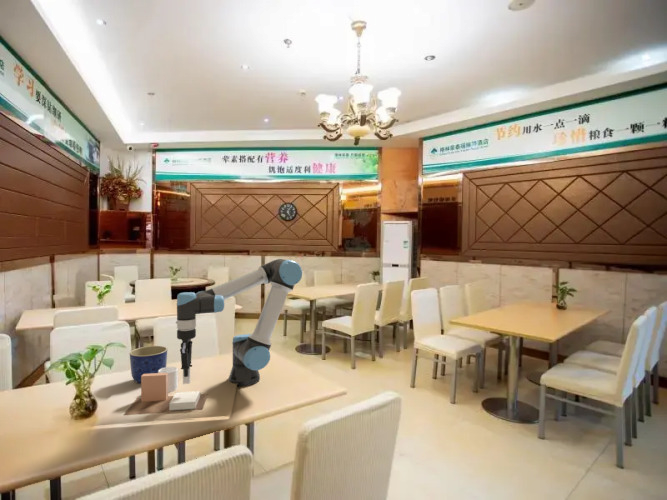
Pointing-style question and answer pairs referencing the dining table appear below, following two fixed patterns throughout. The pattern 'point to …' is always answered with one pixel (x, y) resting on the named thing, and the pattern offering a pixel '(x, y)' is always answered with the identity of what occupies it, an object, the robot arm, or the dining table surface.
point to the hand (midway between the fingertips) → (186, 383)
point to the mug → (171, 377)
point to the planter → (147, 361)
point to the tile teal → (184, 400)
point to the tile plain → (154, 387)
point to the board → (159, 406)
